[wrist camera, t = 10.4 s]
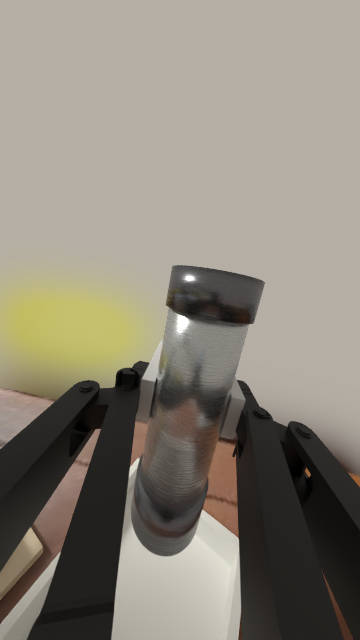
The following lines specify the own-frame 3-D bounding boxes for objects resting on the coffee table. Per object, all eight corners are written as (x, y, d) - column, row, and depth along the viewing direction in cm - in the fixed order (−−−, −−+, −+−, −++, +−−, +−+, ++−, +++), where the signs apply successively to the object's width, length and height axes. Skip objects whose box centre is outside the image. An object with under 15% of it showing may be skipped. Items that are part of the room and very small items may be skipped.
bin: (-14, 673, 13) (-18, 645, 12) (135, 477, 27) (138, 457, 26) (159, 1186, 6) (180, 1214, 5) (238, 567, 20) (247, 545, 19)
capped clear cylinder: (116, 504, 12) (153, 262, 9) (164, 457, 16) (201, 277, 13) (168, 586, 9) (248, 271, 6) (211, 504, 13) (273, 287, 10)
